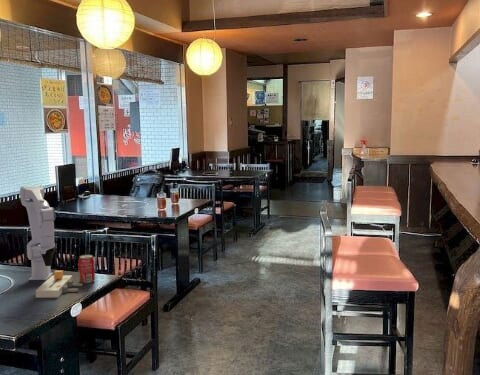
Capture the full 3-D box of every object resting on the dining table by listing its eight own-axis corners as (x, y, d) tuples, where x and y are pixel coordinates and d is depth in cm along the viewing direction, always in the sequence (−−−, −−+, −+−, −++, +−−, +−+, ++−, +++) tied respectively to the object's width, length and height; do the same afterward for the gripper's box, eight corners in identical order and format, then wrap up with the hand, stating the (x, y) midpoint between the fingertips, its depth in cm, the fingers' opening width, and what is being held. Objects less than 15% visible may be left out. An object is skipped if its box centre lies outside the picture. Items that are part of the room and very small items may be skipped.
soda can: (87, 278, 215) (86, 253, 214) (98, 280, 212) (97, 255, 210) (75, 282, 209) (74, 256, 208) (86, 285, 206) (85, 259, 204)
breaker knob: (55, 277, 205) (55, 270, 205) (63, 277, 206) (63, 270, 205) (54, 279, 203) (53, 272, 203) (61, 279, 203) (61, 272, 203)
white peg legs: (69, 285, 205) (69, 280, 204) (82, 285, 205) (82, 280, 205) (62, 292, 196) (62, 287, 195) (77, 292, 196) (76, 287, 196)
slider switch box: (52, 281, 209) (52, 275, 209) (72, 281, 210) (72, 275, 210) (35, 297, 190) (35, 290, 189) (58, 297, 190) (57, 290, 190)
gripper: (42, 232, 207) (43, 261, 209) (32, 239, 193) (33, 270, 195) (58, 231, 208) (59, 260, 210) (49, 239, 194) (50, 270, 196)
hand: (48, 265), depth 202 cm, fingers closed
